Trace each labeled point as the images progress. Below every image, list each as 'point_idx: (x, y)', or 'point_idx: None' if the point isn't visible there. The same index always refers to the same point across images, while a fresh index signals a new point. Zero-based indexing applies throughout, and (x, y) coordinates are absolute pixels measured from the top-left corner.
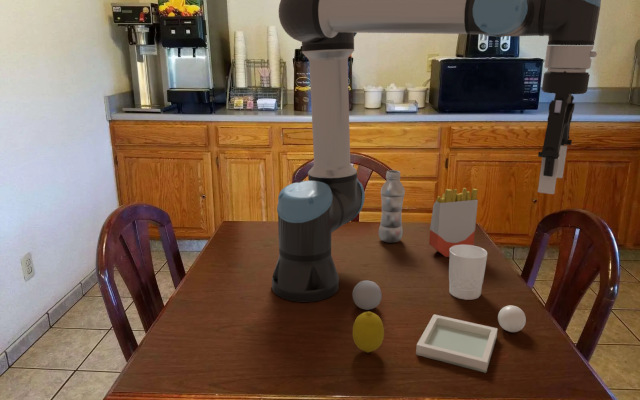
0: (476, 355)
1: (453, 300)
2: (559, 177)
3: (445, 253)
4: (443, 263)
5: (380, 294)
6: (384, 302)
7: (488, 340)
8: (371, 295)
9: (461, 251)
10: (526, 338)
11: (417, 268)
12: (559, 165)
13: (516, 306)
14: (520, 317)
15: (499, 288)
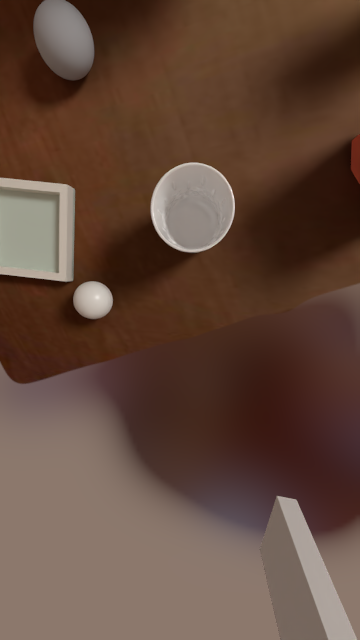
0: (13, 258)
1: None
2: (264, 542)
3: (355, 165)
4: (313, 170)
5: (61, 68)
6: (109, 91)
7: (30, 270)
8: (39, 50)
9: (224, 194)
10: None
11: (273, 120)
12: (286, 620)
13: (94, 307)
14: (78, 312)
15: (229, 281)
